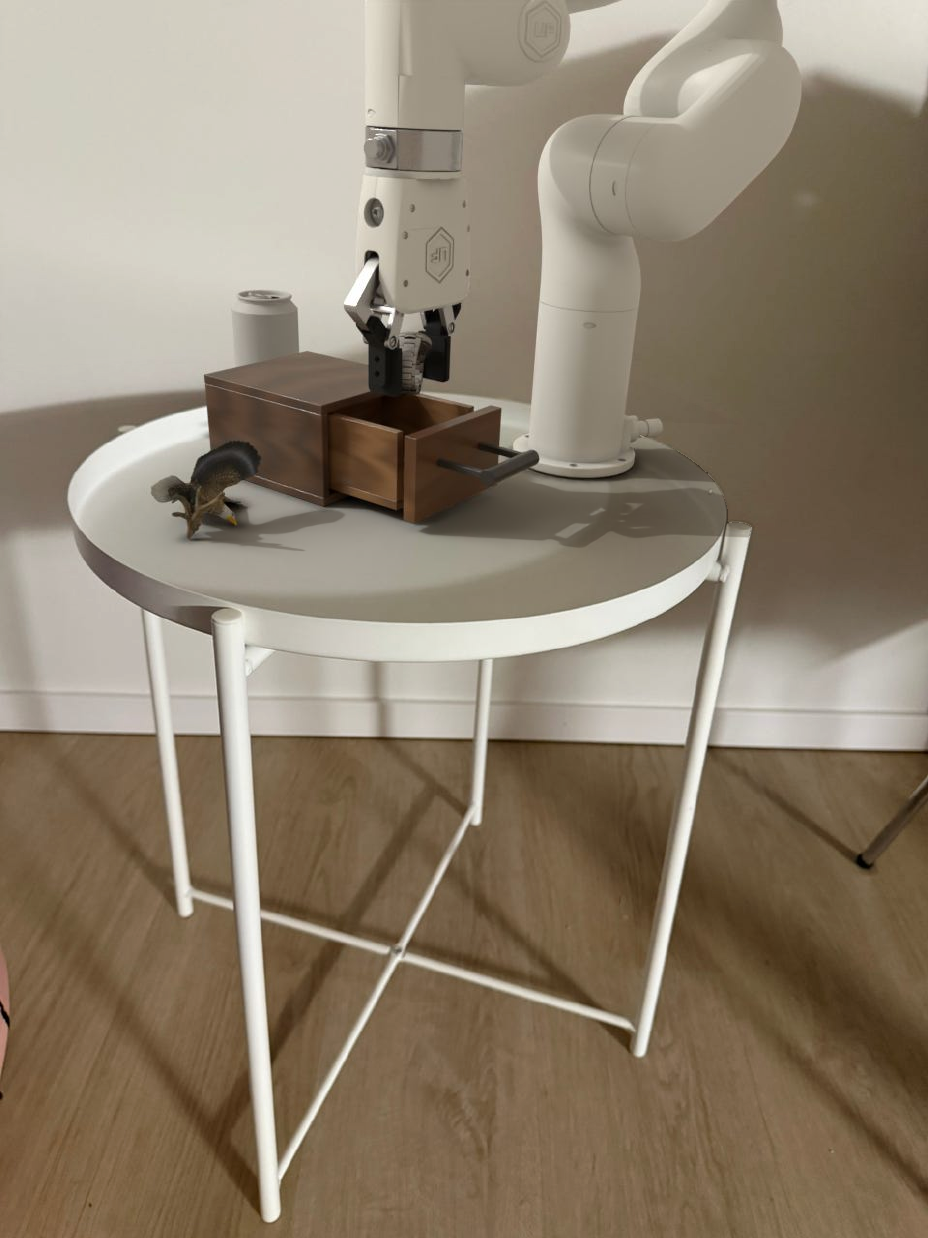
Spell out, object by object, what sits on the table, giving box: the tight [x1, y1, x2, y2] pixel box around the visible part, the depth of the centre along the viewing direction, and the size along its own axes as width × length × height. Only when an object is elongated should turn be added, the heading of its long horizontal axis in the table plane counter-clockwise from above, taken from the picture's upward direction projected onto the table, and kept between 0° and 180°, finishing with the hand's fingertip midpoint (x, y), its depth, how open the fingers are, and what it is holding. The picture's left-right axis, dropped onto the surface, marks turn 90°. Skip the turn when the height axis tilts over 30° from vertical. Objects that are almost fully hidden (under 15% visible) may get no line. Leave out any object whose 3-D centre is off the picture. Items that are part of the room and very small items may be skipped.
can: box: [231, 289, 300, 368], centre depth 112 cm, size 8×8×12 cm
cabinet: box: [203, 350, 385, 507], centre depth 91 cm, size 15×14×9 cm
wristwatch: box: [396, 331, 432, 394], centre depth 82 cm, size 4×6×5 cm, turn 175°
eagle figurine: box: [150, 440, 261, 540], centre depth 79 cm, size 8×7×9 cm
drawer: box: [327, 392, 539, 524], centre depth 85 cm, size 19×12×7 cm, turn 54°
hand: (409, 384), depth 83 cm, fingers closed on wristwatch, 5 cm apart
